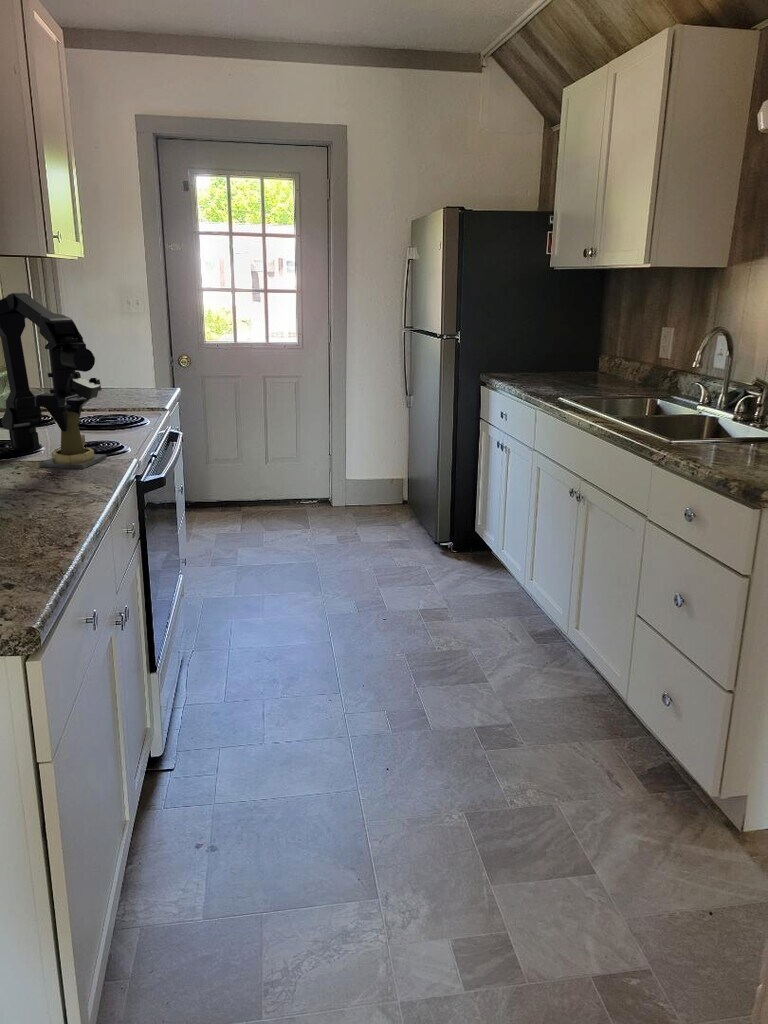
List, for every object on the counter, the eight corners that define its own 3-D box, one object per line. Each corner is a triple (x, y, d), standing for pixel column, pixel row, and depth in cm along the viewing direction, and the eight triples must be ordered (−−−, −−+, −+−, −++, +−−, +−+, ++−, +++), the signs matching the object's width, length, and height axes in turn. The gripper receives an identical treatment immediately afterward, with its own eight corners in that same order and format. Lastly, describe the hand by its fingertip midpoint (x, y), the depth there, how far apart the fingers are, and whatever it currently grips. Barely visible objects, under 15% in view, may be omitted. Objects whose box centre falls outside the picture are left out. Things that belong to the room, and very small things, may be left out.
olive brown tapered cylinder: (89, 451, 202) (85, 410, 198) (78, 456, 196) (73, 414, 193) (67, 450, 202) (62, 409, 199) (56, 456, 196) (51, 413, 193)
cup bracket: (39, 466, 195) (38, 455, 194) (65, 456, 206) (64, 445, 205) (83, 468, 193) (81, 457, 192) (106, 458, 204) (105, 447, 203)
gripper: (72, 373, 182) (79, 437, 187) (111, 365, 200) (116, 423, 205) (29, 372, 184) (37, 435, 189) (72, 363, 202) (78, 422, 206)
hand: (70, 429), depth 197 cm, fingers closed on olive brown tapered cylinder, 5 cm apart
